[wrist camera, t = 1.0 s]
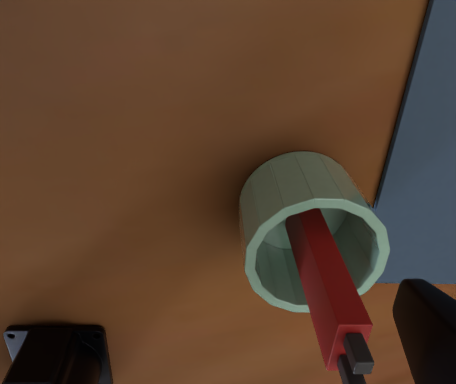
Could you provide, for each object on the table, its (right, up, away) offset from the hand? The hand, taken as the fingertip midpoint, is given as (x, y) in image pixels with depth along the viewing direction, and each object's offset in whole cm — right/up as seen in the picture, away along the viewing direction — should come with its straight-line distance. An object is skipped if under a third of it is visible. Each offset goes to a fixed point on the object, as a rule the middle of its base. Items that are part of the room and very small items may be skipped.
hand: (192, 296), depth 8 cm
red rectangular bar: (+5, +1, +14) cm, 14 cm away
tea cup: (+5, +2, +14) cm, 15 cm away
